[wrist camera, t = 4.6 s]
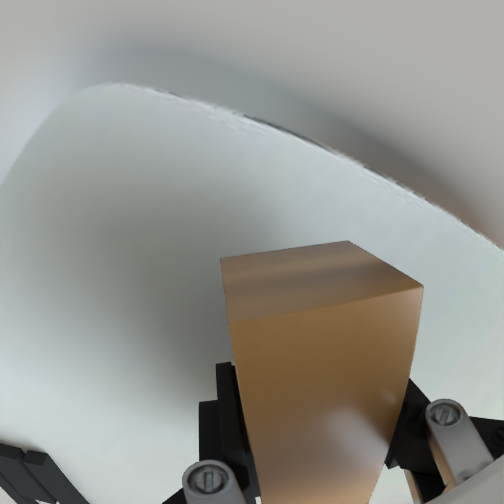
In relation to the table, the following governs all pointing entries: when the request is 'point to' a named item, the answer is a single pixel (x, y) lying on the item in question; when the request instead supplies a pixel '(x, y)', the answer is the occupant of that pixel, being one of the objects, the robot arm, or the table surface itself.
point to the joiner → (320, 366)
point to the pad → (34, 478)
